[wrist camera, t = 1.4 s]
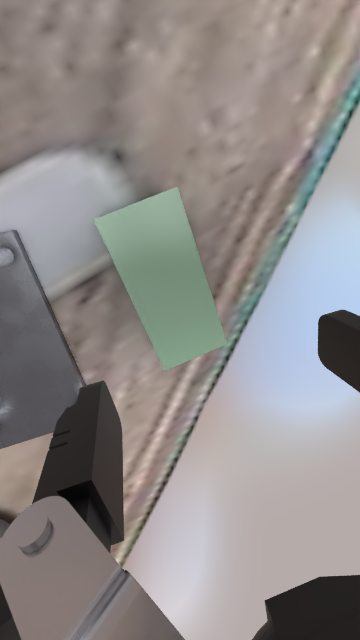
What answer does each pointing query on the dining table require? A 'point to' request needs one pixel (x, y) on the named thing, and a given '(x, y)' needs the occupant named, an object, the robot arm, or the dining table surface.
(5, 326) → the chassis
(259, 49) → the dining table surface
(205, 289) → the board
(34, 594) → the robot arm
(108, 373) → the dining table surface
